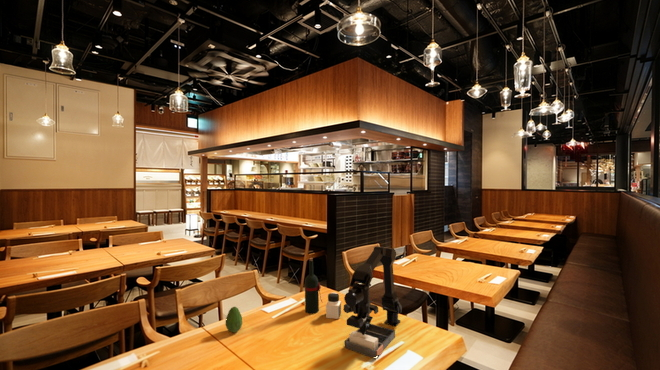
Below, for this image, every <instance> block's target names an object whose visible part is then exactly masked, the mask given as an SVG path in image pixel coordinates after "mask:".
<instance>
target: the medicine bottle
mask: <svg viewBox="0 0 660 370" xmlns="http://www.w3.org/2000/svg"><path fill="white" fill-rule="evenodd" d="M341 314H342V301H341V300H340V295H339V293H337V292H330V293H328V294H327V302H326V305H325V316H326V317H325V318H326V319H336V320H339V319H340V317H341Z"/></svg>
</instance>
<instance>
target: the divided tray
mask: <svg viewBox="0 0 660 370" xmlns="http://www.w3.org/2000/svg"><path fill="white" fill-rule="evenodd" d="M355 331H356V332H360V333H361V330H360V328H357V329H356V330H355ZM365 334H366V335H369V336H372V337H375V338H378V348H377V349H376V350H372V349H369V348H366V347H363V346H360V345H357V344H355V343H352V342H349V336H348V338H346V339H345V340H344V341H343V342H344V349H348V350H350V351H353V352H355V353H358V354H361V355H363V356H365V357H370V358H372V359H374V358H373V357H376V356H378V355H379V354H380V355H381V354H382V353H383V352H384V351H385V350H386V348H387V347H388V346H389V345H390V344H391V343H392V342H393V340H394V339H395V338H396V330H395V329H391V328H386V327H383V326H381V325H377V324H374V323H370V324H369V326H368V329H367V331H366V333H365Z"/></svg>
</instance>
